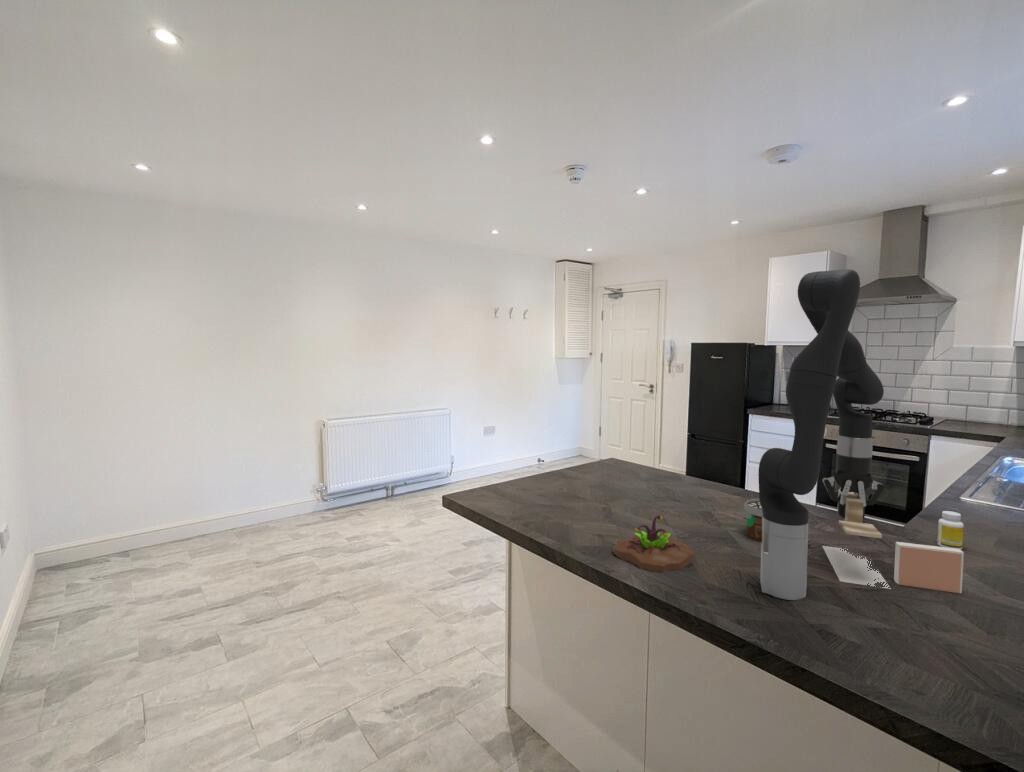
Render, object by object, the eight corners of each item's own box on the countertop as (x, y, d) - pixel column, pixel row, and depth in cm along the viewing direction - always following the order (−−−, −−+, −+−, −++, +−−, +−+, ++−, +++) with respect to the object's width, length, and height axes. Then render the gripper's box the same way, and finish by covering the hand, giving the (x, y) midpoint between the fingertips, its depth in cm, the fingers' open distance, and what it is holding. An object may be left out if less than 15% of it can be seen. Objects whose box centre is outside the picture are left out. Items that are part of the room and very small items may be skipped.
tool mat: (840, 582, 117) (840, 581, 117) (822, 547, 138) (822, 545, 138) (891, 590, 113) (891, 588, 113) (864, 552, 134) (864, 551, 134)
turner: (828, 509, 135) (829, 488, 135) (859, 512, 132) (860, 491, 132) (846, 533, 117) (847, 509, 116) (881, 538, 114) (883, 513, 114)
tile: (896, 585, 115) (898, 545, 114) (893, 581, 117) (895, 541, 116) (961, 595, 110) (964, 552, 109) (957, 591, 112) (959, 549, 111)
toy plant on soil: (708, 560, 131) (708, 519, 130) (658, 579, 121) (659, 535, 120) (650, 536, 148) (651, 500, 147) (603, 551, 138) (603, 513, 137)
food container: (748, 526, 154) (749, 495, 154) (770, 531, 150) (771, 499, 150) (738, 538, 145) (739, 505, 144) (760, 543, 141) (761, 509, 140)
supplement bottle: (967, 551, 134) (969, 516, 133) (945, 549, 135) (947, 515, 134) (953, 543, 139) (955, 510, 138) (932, 542, 140) (934, 509, 139)
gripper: (825, 453, 125) (822, 519, 126) (892, 458, 119) (888, 527, 121) (819, 448, 132) (816, 510, 133) (882, 453, 126) (879, 517, 127)
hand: (850, 518), depth 127 cm, fingers closed on turner, 3 cm apart
